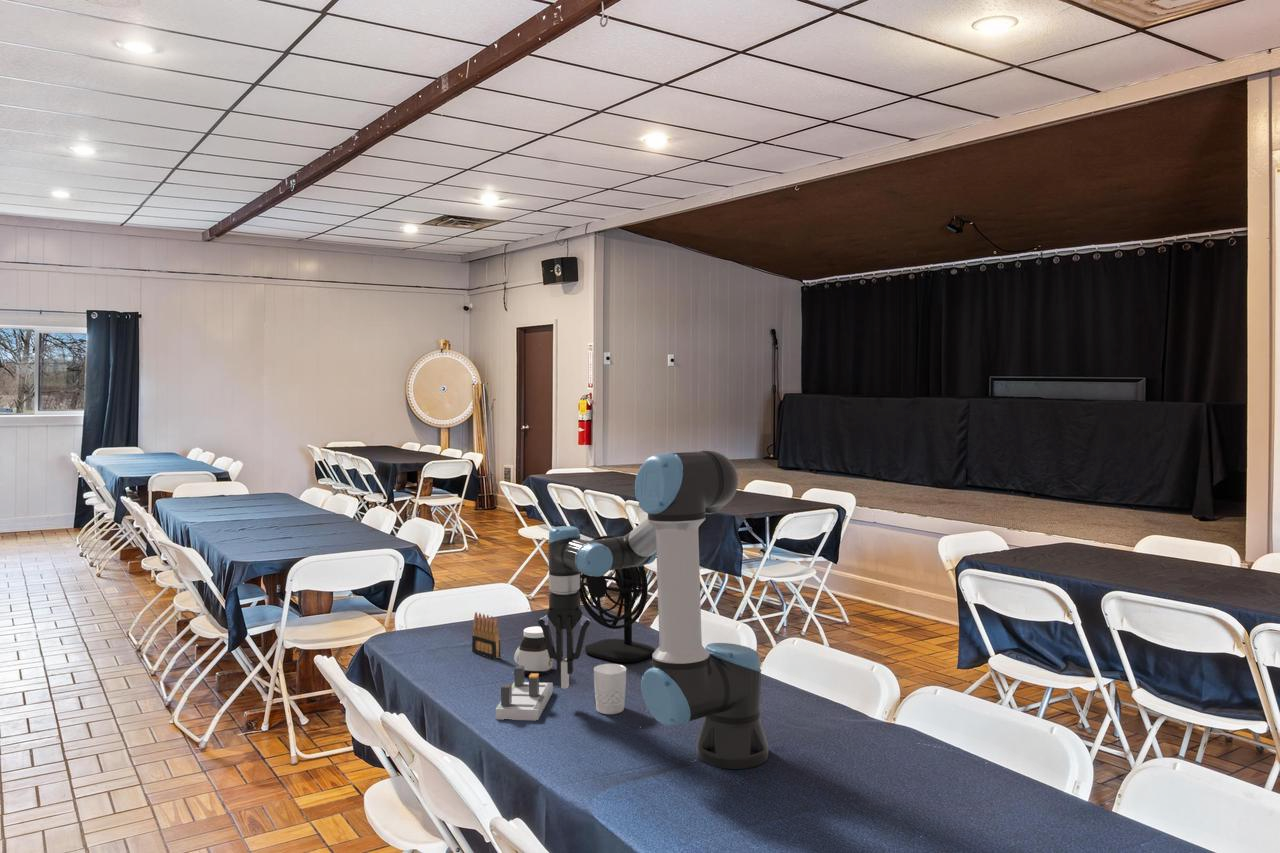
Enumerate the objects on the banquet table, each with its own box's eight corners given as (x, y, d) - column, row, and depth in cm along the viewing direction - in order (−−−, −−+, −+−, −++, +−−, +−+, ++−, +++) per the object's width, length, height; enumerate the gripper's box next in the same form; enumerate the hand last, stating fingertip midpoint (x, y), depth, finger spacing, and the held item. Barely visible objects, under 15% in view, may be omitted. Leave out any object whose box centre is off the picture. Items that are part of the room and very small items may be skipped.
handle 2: (522, 685, 226) (522, 668, 226) (514, 685, 226) (514, 668, 226) (524, 682, 229) (524, 665, 228) (516, 682, 229) (516, 665, 228)
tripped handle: (537, 696, 219) (537, 676, 218) (529, 695, 219) (528, 676, 219) (539, 692, 221) (539, 673, 221) (531, 692, 221) (530, 673, 221)
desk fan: (562, 652, 264) (561, 533, 262) (603, 639, 277) (602, 525, 275) (632, 671, 246) (632, 544, 245) (672, 656, 260) (672, 535, 258)
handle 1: (509, 705, 212) (509, 687, 212) (501, 705, 212) (500, 687, 212) (511, 702, 215) (511, 684, 214) (503, 702, 215) (503, 683, 215)
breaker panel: (537, 720, 210) (537, 709, 210) (495, 719, 211) (495, 708, 211) (552, 692, 229) (552, 682, 229) (514, 691, 230) (513, 681, 230)
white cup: (622, 716, 213) (622, 675, 212) (590, 714, 214) (589, 672, 214) (629, 704, 221) (629, 664, 220) (598, 702, 222) (598, 662, 222)
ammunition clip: (500, 658, 258) (500, 616, 257) (495, 659, 257) (495, 618, 256) (476, 651, 265) (476, 610, 264) (471, 652, 264) (471, 611, 263)
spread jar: (540, 679, 240) (540, 635, 239) (503, 674, 244) (502, 631, 243) (560, 665, 251) (559, 624, 251) (523, 661, 255) (523, 620, 255)
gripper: (593, 587, 221) (593, 682, 222) (541, 586, 222) (541, 680, 224) (588, 594, 214) (589, 692, 215) (534, 593, 215) (535, 691, 216)
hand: (565, 686), depth 219 cm, fingers closed
